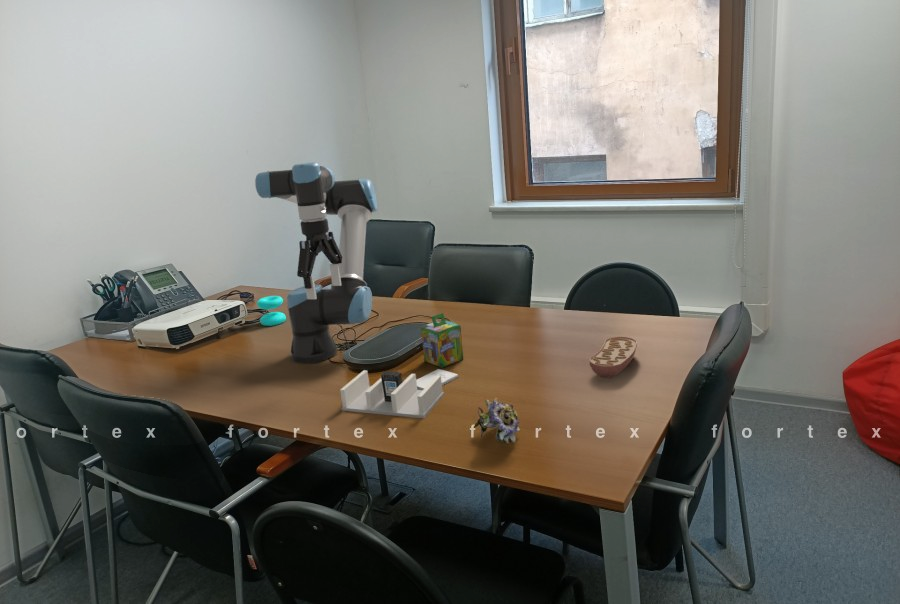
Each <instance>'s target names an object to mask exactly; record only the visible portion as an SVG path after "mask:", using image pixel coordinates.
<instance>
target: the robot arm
mask: <svg viewBox="0 0 900 604" xmlns="http://www.w3.org/2000/svg"><path fill="white" fill-rule="evenodd" d="M254 182H255V185H254V186H255V189H256V192H257V194H258V196H259V197H260V198H263V199H271V198H278V199H281V200H283V201H284V200H285V201H287V202H291V203H294V204H297V211H298V212H297V213H298V218H299V220H300V221H301V222H300V224H299V225H300V228H301V234H302V235H304V236H305V239H306V240H300V241H299V242H298V243H299V254H298V263H297V264H298V265H297V272H296V276H297V277H299V278H302V279H303V285H304V286H300V287H297V288H296V289H293V290H292V291H290V292H289V293H288V294H287V296H286V301H287V302H286V303H287V311H288V316H289V322H290V326H291V332H292V341H291V347H290V353H289V354H290V359H291V361H292V362H294V363H297V364H313V363H320V362H322V361H323V360H324V361H326V360H328V358H329V359H331V358H332V356H333V355H334V356H335V355H337V353H338V347H337V344H336V342H335V340H334V339H333V338H334V337H333V336H332V334H331V332H330V330H329V326H331V325H332V326H333V325H336V326H337V325H355V324H361V323H365V322H366V321H367V320H369V318H370V316H371V313H372V312H371V311H372V308H373V294H372V291H371V288H370V287H368V283H367V282H366V281H365V280H364V269H365V268H364V265H365V249H366V248H365V247H366V236H367V235H366V234H367V223H368V222H369V221H370V220H371V219H372V213H375V212H377V211H378V200H377V195H376V191H375V187H374V185H373V183H372V181H371V180H370V179H367V178H357V179H352V180H351V179H348V180H338V181H337V180H336V178H335V175H334V172H333V171H332V169H331V168H329V167H327V166H323V165H320V164H319V163H318V162H312V161H311V162H304V163H297V164H294V165H293V166H292V168H291V169H286V170H273V171H272V170H271V171H268V170H267V171H263V172H258V173H257V174H256V177H255V180H254ZM327 215H329V216H331V215H332V216H333V215H334V216H337V215H338V218H339V219H340V220H341V222H340V236H339V245H337V242H336V241H335V236H334V233H333V231H329V230H330V229H329V222H328V221H329V220H328V219H327V218H326V217H327ZM321 252H322V253H323V254H324V256H325V257H326V258H327V260H328V261H329V262H330V263H329V271H330V278H331V285H330V286H331V287H330V288H327V289H326V288H325V289H324V288H323V286H322V284H317V283H315V278H314V275H312V274H313V269H314V265H315V262H316V257H317V256H319V254H320V253H321ZM334 356H333V357H334ZM330 357H331V358H330Z"/></svg>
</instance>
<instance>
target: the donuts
mask: <svg viewBox="0 0 900 604" xmlns="http://www.w3.org/2000/svg"><path fill="white" fill-rule="evenodd" d="M283 303H284V298H282V297H281V296H280V295H270V296H265V297H261V298H259V299H258V301H257V302H256V306H257V307H258V308H259V309H261V310H265V311H266V310H273V309H277V308H279V307H280V306H282V304H283ZM286 316H287V315H286V314H285V313H283V312H280V311H272V312H267V313H265V314H263V315H262V316H261V317H260V319H259V322H260V324H261V325H262V326H265V327H271V326H272V327H273V326H277V325H281V324H283V323H284V322H286V319H287V317H286Z"/></svg>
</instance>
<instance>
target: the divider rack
mask: <svg viewBox="0 0 900 604" xmlns="http://www.w3.org/2000/svg"><path fill="white" fill-rule="evenodd" d="M368 372H369V371H368V370H365V369H364V370H362V371H361V372H360V373H359V374H357V375H356V376H355V377H353V378H352V380H350V381H349V382H348V383H346V384H345V385H344V386H343V387H341V388H340V389H339V390H340V397H341V405H342V407H341V408H340V410H341V411H345V412H354V413H355V412H356V413H366V414H374V415H375V414H377V415H384V416H385V415H386V416H396V417H397V416H398V417H403V418H404V417H407V418H417V419H425V418H426V417H427V416H428V415H429V413H430V412H431V411H432V410H433V408H434V407H435V406H436V405H437V404H438V403H439V401H440V400H441V399H442V398H443V397H444V396H445V391H443V386H442V382H441V376H438V375H437V376H436V377H435V378H434V379H433V380H432V381H431V382H430V383H429V384H428V385H427V386H426V387H425V389H424V390H417V382H416V380H417V376H416V373H411V374H409V375H408V376H407V377H406V378H405V379H404V381H403V380H402V383H401V384H400V385H399V386H398V387H397V388H396V389H395V390H394V391H393V392H392V393H391V401H392V402H387V401H385V400H384V399H385V398H384V392H383V386H382V379H381V377H380V378H379V379H378V380H377V381H375V383H373V385H370V379H369V378H370V377H369V373H368Z"/></svg>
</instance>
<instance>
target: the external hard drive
mask: <svg viewBox="0 0 900 604" xmlns="http://www.w3.org/2000/svg"><path fill="white" fill-rule="evenodd" d="M437 375H438V376H441V382H442V385H443V386H445V385H447V384H448V382H449V383H451V382H453V381H454V380H456V379H458V378H459V374H457V373H454V372H451V371H447V370H444V369H439V368H436V370H434V371H431V372H429V373H427V374H425V375H423V376H421V377H419V378H416V382H417V390H424V389H425V387H426V386H427V385H428V384H429V383H430V382H431V381H432V380H433V379H434V378H435V377H436V376H437ZM457 377H458V378H457ZM455 378H456V379H455ZM450 381H451V382H450ZM446 383H447V384H446ZM444 384H445V385H444Z"/></svg>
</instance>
